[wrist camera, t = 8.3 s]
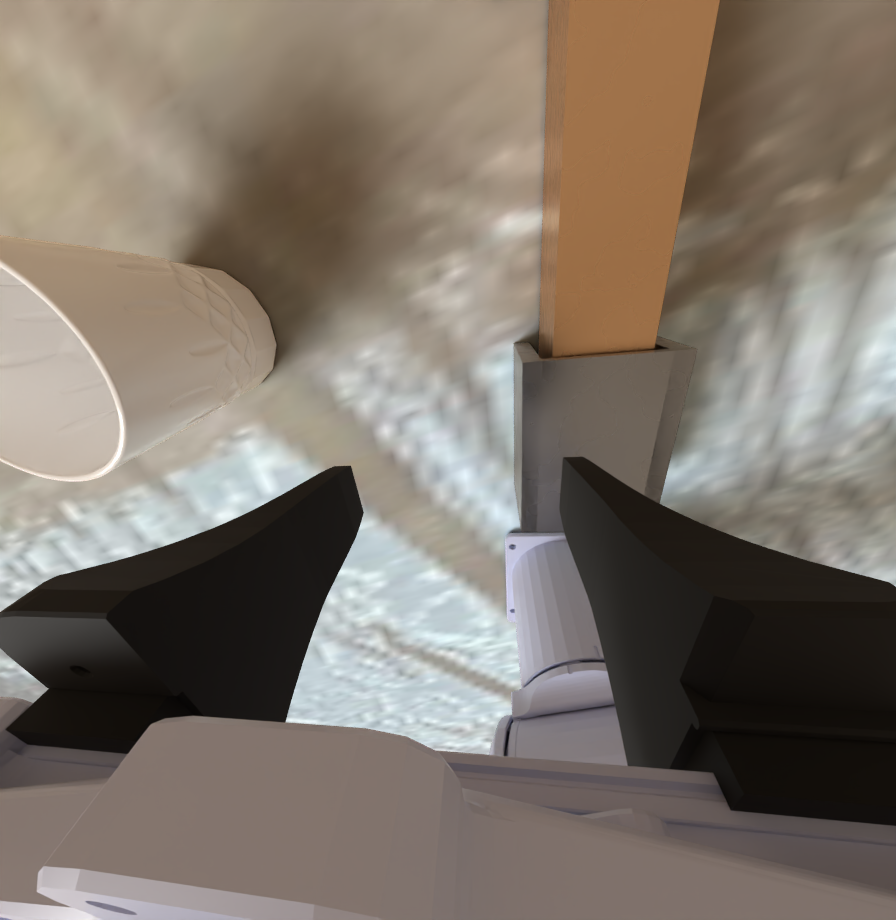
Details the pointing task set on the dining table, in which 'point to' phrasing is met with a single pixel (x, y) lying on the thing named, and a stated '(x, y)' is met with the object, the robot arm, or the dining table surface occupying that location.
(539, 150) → the dining table surface
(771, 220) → the dining table surface
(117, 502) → the dining table surface
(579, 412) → the sleeve
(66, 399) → the white cup
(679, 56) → the tan wooden bar
